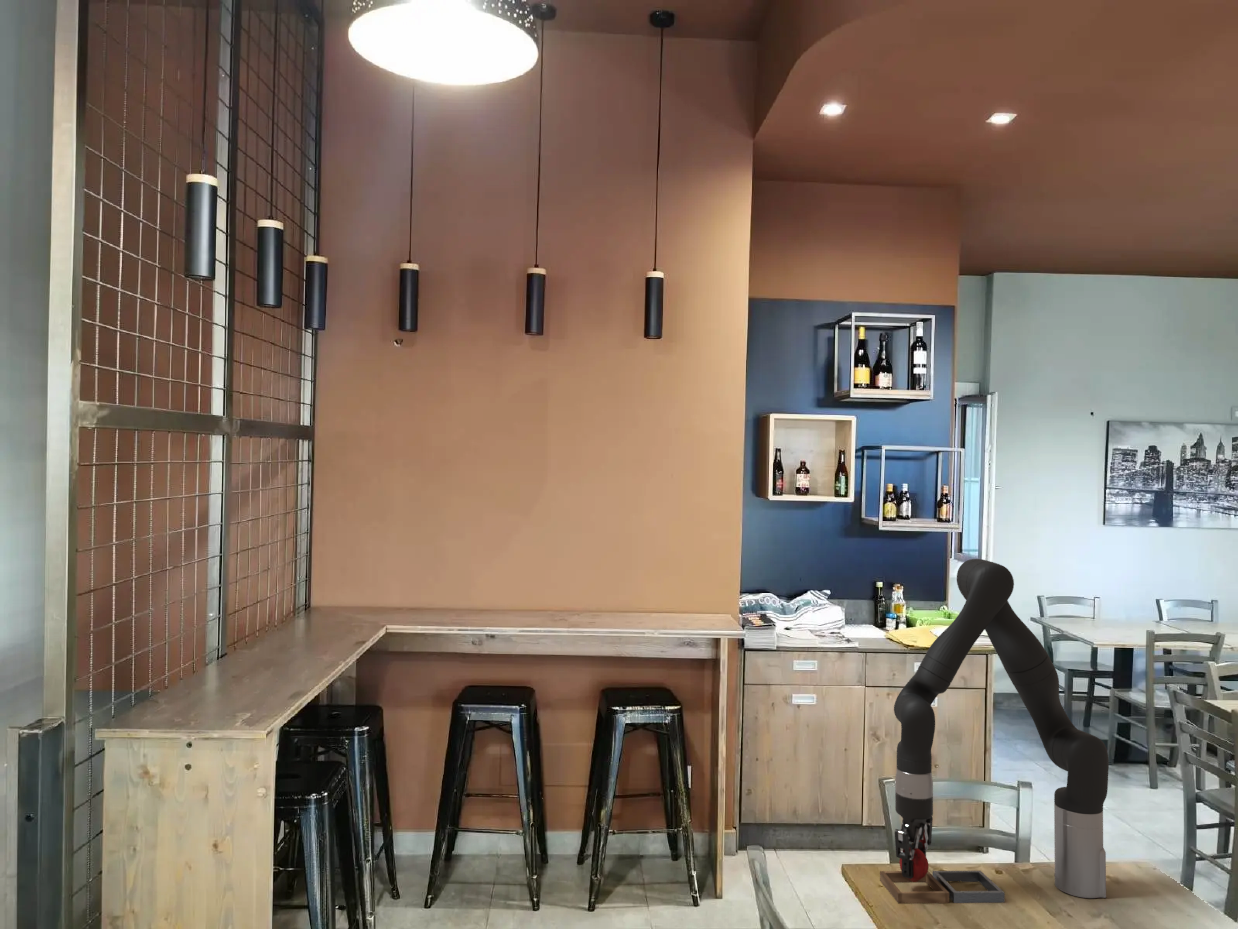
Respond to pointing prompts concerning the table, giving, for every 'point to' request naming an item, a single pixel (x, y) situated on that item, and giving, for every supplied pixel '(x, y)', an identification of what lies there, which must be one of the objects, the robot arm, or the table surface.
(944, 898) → the walnut frame
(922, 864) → the pomegranate
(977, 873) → the grey frame
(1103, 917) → the table surface
